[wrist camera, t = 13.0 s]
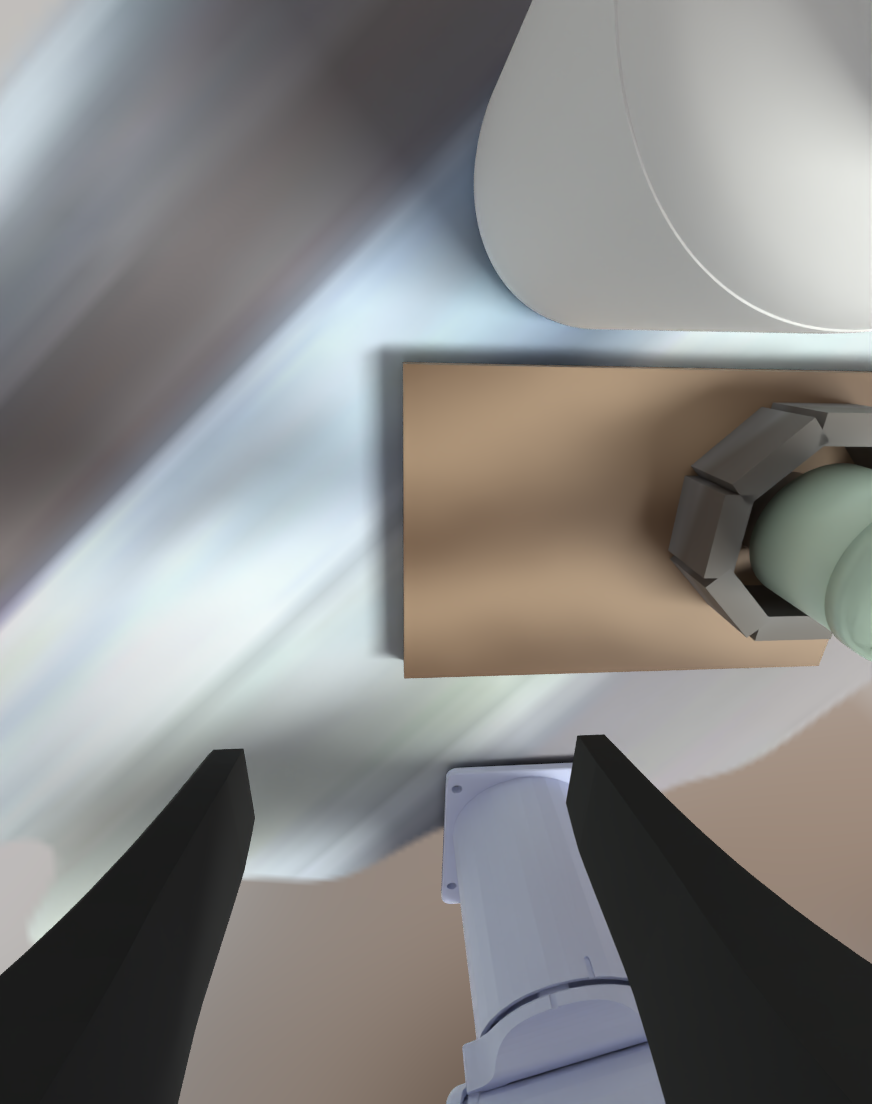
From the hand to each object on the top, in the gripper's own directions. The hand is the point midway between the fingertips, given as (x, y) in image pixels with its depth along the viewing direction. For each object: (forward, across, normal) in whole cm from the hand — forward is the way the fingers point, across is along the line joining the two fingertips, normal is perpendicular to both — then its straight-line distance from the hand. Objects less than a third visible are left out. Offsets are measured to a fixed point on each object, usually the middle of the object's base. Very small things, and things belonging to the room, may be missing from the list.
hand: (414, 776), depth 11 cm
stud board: (+10, -9, -2) cm, 13 cm away
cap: (+7, -14, -3) cm, 16 cm away
